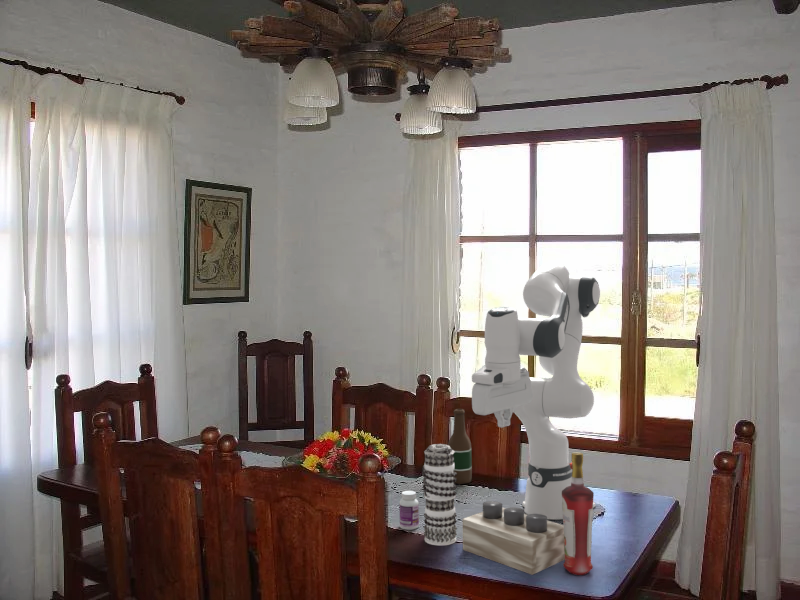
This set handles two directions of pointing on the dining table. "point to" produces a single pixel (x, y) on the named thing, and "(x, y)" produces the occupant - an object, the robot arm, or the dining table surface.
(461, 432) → the beer bottle
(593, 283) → the robot arm
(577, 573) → the liquor
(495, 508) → the knob
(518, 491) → the dining table surface
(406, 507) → the pill bottle
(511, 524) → the knob
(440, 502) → the decorative candle
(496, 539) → the console
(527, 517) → the knob
